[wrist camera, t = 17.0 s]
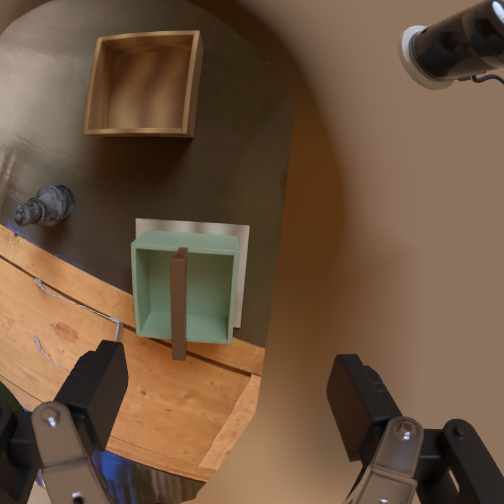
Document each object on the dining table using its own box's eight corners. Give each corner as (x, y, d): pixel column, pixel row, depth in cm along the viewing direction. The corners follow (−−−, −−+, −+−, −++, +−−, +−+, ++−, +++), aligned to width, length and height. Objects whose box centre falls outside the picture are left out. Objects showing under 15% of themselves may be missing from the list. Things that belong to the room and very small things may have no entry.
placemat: (249, 225, 42) (249, 226, 42) (240, 326, 47) (240, 327, 47) (136, 218, 41) (135, 219, 40) (140, 317, 46) (139, 319, 45)
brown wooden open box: (204, 49, 34) (199, 30, 28) (193, 137, 38) (186, 133, 32) (116, 52, 33) (97, 37, 27) (104, 137, 37) (83, 134, 30)
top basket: (238, 235, 42) (240, 263, 32) (231, 318, 46) (232, 364, 35) (145, 229, 41) (118, 254, 30) (147, 312, 45) (128, 354, 34)
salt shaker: (82, 200, 39) (38, 217, 28) (62, 228, 40) (19, 252, 29) (59, 174, 38) (11, 184, 27) (40, 203, 39) (-7, 220, 27)
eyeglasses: (114, 377, 49) (108, 391, 45) (34, 340, 46) (25, 351, 42) (126, 311, 45) (119, 324, 41) (36, 272, 42) (24, 281, 38)
